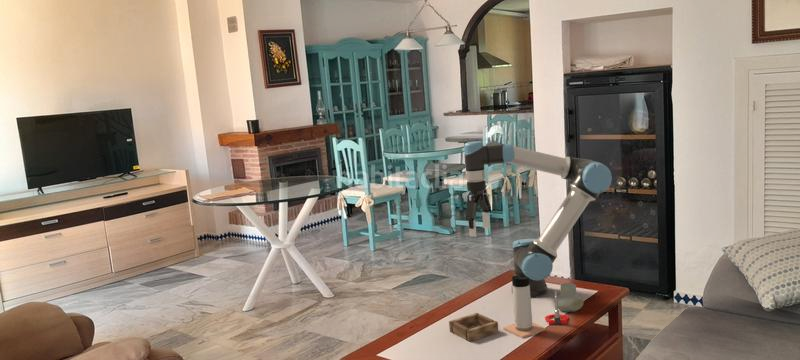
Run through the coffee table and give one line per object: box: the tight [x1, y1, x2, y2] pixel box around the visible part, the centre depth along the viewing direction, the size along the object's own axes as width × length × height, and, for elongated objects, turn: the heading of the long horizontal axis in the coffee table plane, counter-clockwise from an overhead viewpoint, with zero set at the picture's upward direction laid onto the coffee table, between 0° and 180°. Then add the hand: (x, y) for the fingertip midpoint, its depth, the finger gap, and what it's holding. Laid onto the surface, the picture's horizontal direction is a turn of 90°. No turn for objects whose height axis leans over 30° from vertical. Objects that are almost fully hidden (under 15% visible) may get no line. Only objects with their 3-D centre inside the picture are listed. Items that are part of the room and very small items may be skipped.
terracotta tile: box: [502, 322, 547, 339], centre depth 237 cm, size 11×11×1 cm
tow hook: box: [544, 290, 569, 325], centre depth 243 cm, size 8×13×9 cm
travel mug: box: [511, 275, 533, 331], centre depth 236 cm, size 6×7×20 cm
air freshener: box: [557, 282, 584, 313], centre depth 253 cm, size 11×8×10 cm
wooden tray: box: [448, 312, 499, 343], centre depth 240 cm, size 13×13×4 cm
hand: (480, 232), depth 260 cm, fingers open, 13 cm apart
